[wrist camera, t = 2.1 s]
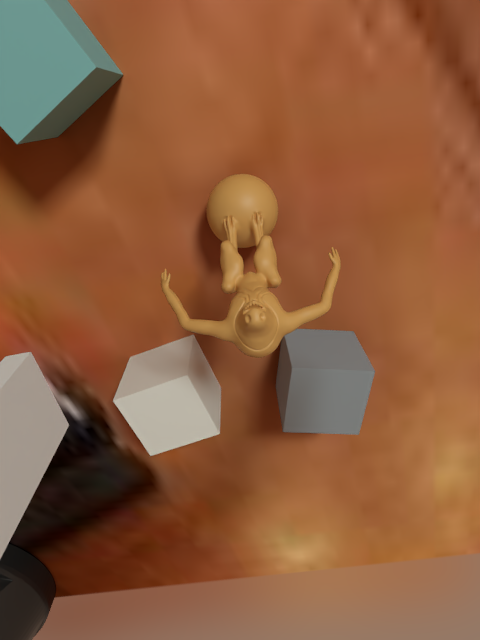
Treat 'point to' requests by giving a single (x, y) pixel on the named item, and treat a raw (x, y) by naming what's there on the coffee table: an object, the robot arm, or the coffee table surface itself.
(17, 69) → the cube teal
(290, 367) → the cube slate
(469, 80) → the coffee table surface
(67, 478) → the coffee table surface
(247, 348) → the figurine
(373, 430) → the coffee table surface
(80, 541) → the coffee table surface
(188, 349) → the cube offwhite
